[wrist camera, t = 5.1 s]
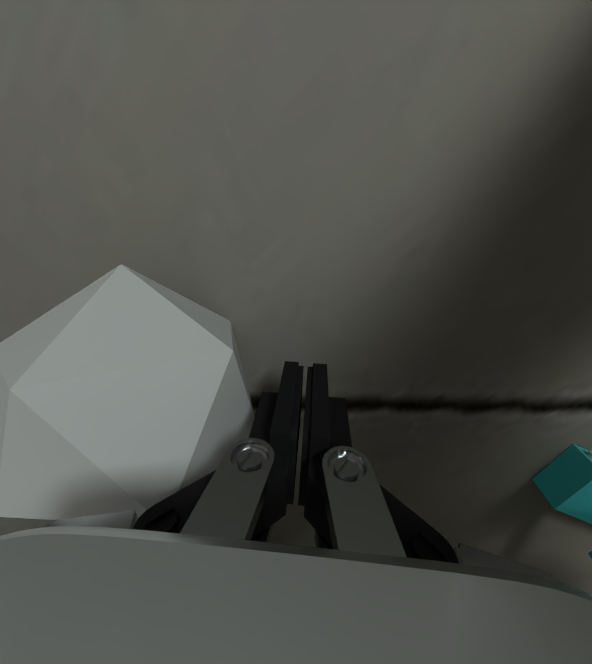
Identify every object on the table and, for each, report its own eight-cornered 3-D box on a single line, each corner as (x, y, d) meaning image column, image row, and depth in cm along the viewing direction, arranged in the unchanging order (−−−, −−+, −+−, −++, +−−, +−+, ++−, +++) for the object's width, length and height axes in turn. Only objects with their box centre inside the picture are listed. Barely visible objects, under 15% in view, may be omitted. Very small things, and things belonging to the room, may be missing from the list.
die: (124, 404, 17) (149, 600, 11) (-60, 316, 11) (-261, 680, 4) (240, 324, 18) (326, 467, 11) (133, 193, 11) (199, 361, 5)
